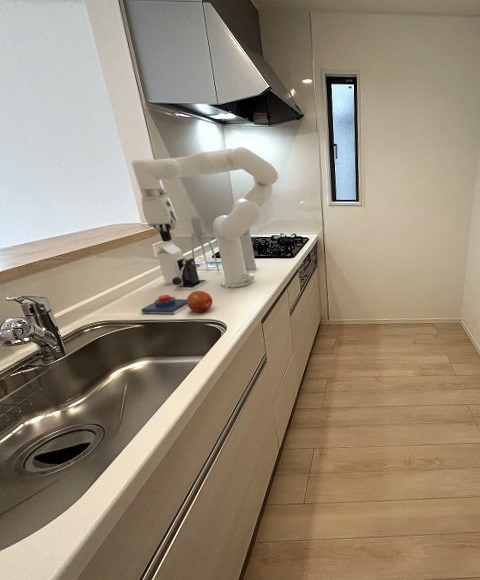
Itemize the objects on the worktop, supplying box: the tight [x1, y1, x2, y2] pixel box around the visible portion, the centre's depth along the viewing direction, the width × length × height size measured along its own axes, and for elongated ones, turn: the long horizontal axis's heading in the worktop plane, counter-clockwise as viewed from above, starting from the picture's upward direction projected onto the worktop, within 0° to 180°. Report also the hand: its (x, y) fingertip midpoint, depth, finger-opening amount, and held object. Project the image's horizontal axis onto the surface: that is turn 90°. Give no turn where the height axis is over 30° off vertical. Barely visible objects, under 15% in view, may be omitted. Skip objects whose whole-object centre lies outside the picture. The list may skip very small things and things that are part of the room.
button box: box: [140, 296, 187, 316], centre depth 121 cm, size 12×10×4 cm
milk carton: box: [156, 241, 185, 284], centre depth 147 cm, size 7×7×19 cm
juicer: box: [190, 214, 220, 273], centre depth 157 cm, size 10×9×30 cm
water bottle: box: [240, 228, 257, 271], centre depth 165 cm, size 9×8×25 cm
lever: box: [171, 258, 189, 286], centre depth 139 cm, size 13×4×4 cm
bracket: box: [176, 257, 207, 289], centre depth 144 cm, size 10×8×13 cm
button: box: [157, 294, 171, 302], centre depth 120 cm, size 4×4×2 cm
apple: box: [186, 290, 213, 313], centre depth 118 cm, size 8×8×8 cm
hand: (167, 240), depth 127 cm, fingers closed
